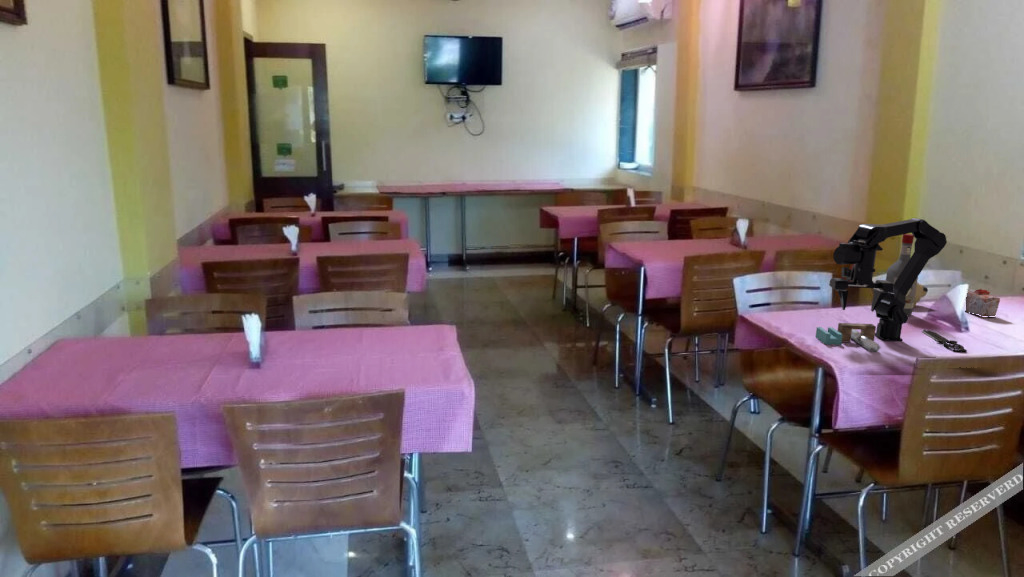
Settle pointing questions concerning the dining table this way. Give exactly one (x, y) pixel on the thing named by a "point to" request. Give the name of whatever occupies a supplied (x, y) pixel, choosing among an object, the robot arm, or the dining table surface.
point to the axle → (864, 341)
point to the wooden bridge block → (847, 328)
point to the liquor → (898, 267)
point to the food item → (981, 303)
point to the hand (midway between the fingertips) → (857, 310)
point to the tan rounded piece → (919, 293)
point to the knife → (942, 341)
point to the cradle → (829, 336)
